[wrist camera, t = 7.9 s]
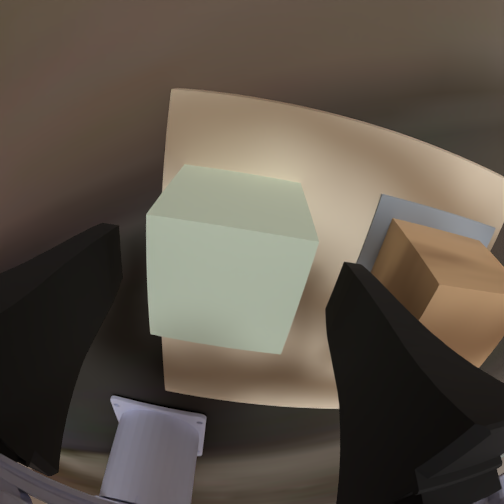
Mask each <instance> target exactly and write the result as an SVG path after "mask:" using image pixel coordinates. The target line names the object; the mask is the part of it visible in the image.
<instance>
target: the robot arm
mask: <svg viewBox="0 0 504 504" xmlns="http://www.w3.org/2000/svg"><path fill="white" fill-rule="evenodd" d="M122 278H123V276H122V264H121V251H120V235H119V226H118V225H112V224H106V223H101V224H99V225H96V226H94V227H92V228H90V229H88V230H86V231H84V232H82V233H80V234H78V235H76V236H74V237H72V238H71V239H69V240H67V241H65V242H63V243H61V244H59V245H58V246H56V247H54V248H52V249H50V250H48V251H46V252H44V253H42V254H40V255H38V256H37V257H35V258H33V259H31V260H29V261H27V262H25V263H23V264H21V265H19V266H16V267H14V268H12V269H10V270H7V271H5V272H3V273H0V504H32V501H31V498H30V497H29V495H31V496H33V497H35V498H37V499H39V500H41V501H43V502H45V503H47V504H191V498H192V490H193V482H194V475H195V467H196V460H197V456H201V455H202V451H203V443H204V435H205V427H206V419H207V417H206V416H205V415H203V414H199V413H193V412H187V411H182V410H176V409H171V408H166V407H161V406H157V405H152V404H148V403H143V402H139V401H135V400H131V399H127V398H123V397H119V396H115V395H114V396H111V399H110V401H111V403H112V406H113V409H114V411H115V414H116V417H117V419H118V422H119V424H118V428H117V431H116V435H115V438H114V442H113V445H112V449H111V452H110V456H109V459H108V463H107V467H106V471H105V474H104V478H103V482H102V486H101V490H100V494H99V496H97V495H96V496H92V495H89V494H87V493H84V492H81V491H79V490H76V489H73V488H71V487H68V486H66V485H63V484H61V483H59V482H56V481H54V480H52V479H49V478H47V477H45V476H43V475H41V474H38V473H36V472H34V471H32V470H30V469H28V468H26V467H24V466H22V465H20V464H18V463H17V462H19V463H21V464H23V465H25V466H27V467H30V468H32V469H34V470H37V471H39V472H41V473H43V474H45V475H47V476H52V475H54V474H56V473H58V471H59V460H60V452H61V445H62V438H63V432H64V427H65V422H66V418H67V413H68V409H69V405H70V401H71V398H72V394H73V390H74V387H75V384H76V381H77V378H78V375H79V372H80V369H81V366H82V363H83V361H84V359H85V356H86V354H87V352H88V350H89V348H90V346H91V344H92V342H93V340H94V338H95V336H96V334H97V332H98V330H99V328H100V326H101V324H102V323H103V321H104V319H105V317H106V315H107V313H108V311H109V309H110V307H111V305H112V303H113V301H114V299H115V296H116V294H117V291H118V288H119V286H120V283H121V280H122ZM325 316H326V332H327V340H328V345H329V350H330V355H331V360H332V366H333V371H334V376H335V381H336V387H337V392H338V400H339V412H340V470H339V484H338V494H337V502H336V504H504V473H503V474H501V475H499V476H498V473H497V468H499V467H500V466H502V460H501V457H500V455H501V454H503V453H504V383H502V382H501V381H499V380H497V379H495V378H494V377H492V376H490V375H489V374H487V373H485V372H484V371H482V370H481V369H479V368H478V367H476V366H474V365H473V364H472V363H470V362H469V361H467V360H466V359H465V358H463V357H462V356H460V355H459V354H457V353H456V352H455V351H454V350H452V349H451V348H450V347H448V346H447V345H446V344H445V343H444V342H442V341H441V340H440V339H439V338H438V337H436V336H435V335H434V334H433V333H432V332H430V331H429V330H428V329H427V328H426V327H425V326H424V325H423V324H422V323H421V322H420V321H419V320H418V319H416V318H415V317H414V316H413V315H412V314H411V313H410V312H409V311H408V310H407V309H406V308H405V307H404V306H403V305H402V304H401V303H400V302H399V301H398V300H397V299H396V298H395V297H394V296H393V295H392V294H391V293H390V292H389V290H388V289H387V288H386V287H385V286H384V285H383V284H382V283H381V282H380V281H379V280H378V279H377V278H376V277H375V276H374V275H373V274H372V273H371V272H370V271H369V270H367V269H366V268H365V267H364V266H363V265H361V264H356V263H350V262H344V263H343V266H342V268H341V271H340V273H339V276H338V279H337V281H336V284H335V286H334V289H333V291H332V294H331V296H330V299H329V301H328V303H327V306H326V308H325ZM28 494H29V495H28Z"/></svg>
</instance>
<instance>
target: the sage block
mask: <svg viewBox="0 0 504 504" xmlns="http://www.w3.org/2000/svg"><path fill="white" fill-rule="evenodd" d="M318 244H319V240H318V236H317V233H316V230H315V226H314V223H313V220H312V217H311V213H310V210H309V207H308V204H307V201H306V198H305V195H304V192H303V188H302V185H301V183H298V182H293V181H287V180H282V179H276V178H271V177H265V176H259V175H254V174H248V173H241V172H235V171H229V170H222V169H215V168H208V167H201V166H194V165H186V164H184V166H183V167H182V168H181V169H180V171H179V172H178V173H177V174H176V176H175V177H174V178H173V179H172V181H171V182H170V183H169V185H168V186H167V187H166V189H165V190H164V191H163V192H162V194H161V195H160V196H159V198H158V199H157V200H156V202H155V203H154V205H153V206H152V207H151V209H150V210H149V211H148V213H147V214H146V258H147V288H148V308H149V323H150V334H152V335H157V336H162V337H167V338H172V339H178V340H183V341H189V342H195V343H201V344H207V345H213V346H220V347H226V348H233V349H240V350H248V351H256V352H264V353H272V354H281V353H282V350H283V347H284V344H285V342H286V339H287V336H288V333H289V331H290V328H291V325H292V322H293V319H294V316H295V314H296V311H297V308H298V305H299V302H300V299H301V296H302V293H303V290H304V287H305V284H306V281H307V278H308V275H309V272H310V269H311V266H312V263H313V260H314V257H315V254H316V251H317V247H318Z"/></svg>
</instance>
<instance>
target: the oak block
mask: <svg viewBox="0 0 504 504" xmlns="http://www.w3.org/2000/svg"><path fill="white" fill-rule="evenodd" d="M371 273H372V274H373V275H374V276H375V277H376V278H377V279H378V280H379V281H380V282H381V283H382V284H383V285H384V286H385V287H386V288H387V289H388V290H389V292H390V293H391V294H392V295H393V296H394V297H395V298H396V299H397V300H398V301H399V302H400V303H401V304H402V305H403V306H404V307H405V308H406V309H407V310H408V311H409V312H410V313H411V314H412V315H413V316H414V317H415V318H416V319H418V320H419V321H420V322H421V323H422V324H423V325H424V326H425V327H426V328H427V329H428V330H429V331H430V332H432V333H433V334H434V335H435V336H436V337H438V338H439V339H440V340H441V341H442V342H444V343H445V344H446V345H447V346H448V347H450V348H451V349H452V350H454V351H455V352H456V353H457V354H459V355H460V356H462V357H463V358H465V359H466V360H467V361H469V362H470V363H472V364H473V365H474V366H476V367H478V368H479V367H480V366H481V364H482V363H483V362H484V361H485V360H486V358H487V357H488V356H489V355H490V353H491V352H492V351H493V350H494V348H495V347H496V346H497V344H498V343H499V342H500V340H501V339H502V338H503V336H504V267H503V266H502V265H501V263H500V262H499V261H498V260H497V259H496V258H495V257H494V256H493V255H492V253H491V252H490V251H489V250H488V249H487V248H486V247H485V246H484V245H483V244H482V243H481V242H480V241H479V240H475V239H472V238H468V237H465V236H461V235H458V234H454V233H450V232H446V231H443V230H439V229H435V228H431V227H427V226H423V225H419V224H415V223H411V222H407V221H403V220H399V219H395V218H392V221H391V224H390V226H389V229H388V231H387V234H386V236H385V239H384V241H383V244H382V246H381V249H380V251H379V254H378V256H377V259H376V261H375V263H374V266H373V268H372V270H371Z"/></svg>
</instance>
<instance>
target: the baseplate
mask: <svg viewBox="0 0 504 504" xmlns="http://www.w3.org/2000/svg"><path fill="white" fill-rule="evenodd" d="M184 164H186V165H194V166H201V167H208V168H215V169H222V170H229V171H235V172H241V173H248V174H254V175H259V176H265V177H271V178H276V179H282V180H287V181H293V182H298V183H301V185H302V188H303V192H304V195H305V198H306V201H307V204H308V207H309V210H310V213H311V217H312V220H313V223H314V226H315V230H316V233H317V236H318V240H319V244H318V247H317V251H316V254H315V257H314V260H313V263H312V266H311V269H310V272H309V275H308V278H307V281H306V284H305V287H304V290H303V293H302V296H301V299H300V302H299V305H298V308H297V311H296V314H295V316H294V319H293V322H292V325H291V328H290V331H289V333H288V336H287V339H286V342H285V344H284V347H283V350H282V353H281V354H272V353H264V352H256V351H248V350H240V349H233V348H226V347H220V346H213V345H207V344H201V343H195V342H189V341H183V340H178V339H172V338H167V337H162V351H163V367H164V381H165V390H166V391H171V392H176V393H181V394H187V395H193V396H199V397H205V398H211V399H218V400H226V401H233V402H241V403H250V404H260V405H271V406H284V407H300V408H327V409H339V400H338V392H337V387H336V381H335V376H334V371H333V366H332V360H331V355H330V350H329V345H328V340H327V332H326V316H325V308H326V306H327V303H328V301H329V299H330V296H331V294H332V291H333V289H334V286H335V284H336V281H337V279H338V276H339V273H340V271H341V268H342V266H343V263H344V262H350V263H356V264H361V265H363V266H364V267H365V268H366V269H367V270H369V271H370V272H371V270H372V268H373V266H374V263H375V261H376V259H377V256H378V254H379V251H380V249H381V246H382V244H383V241H384V239H385V236H386V234H387V231H388V229H389V226H390V224H391V221H392V218H395V219H399V220H403V221H407V222H411V223H415V224H419V225H423V226H427V227H431V228H435V229H439V230H443V231H446V232H450V233H454V234H458V235H461V236H465V237H468V238H472V239H475V240H479V241H480V242H481V243H482V244H483V245H484V246H485V247H486V248H487V249H488V250H489V251H490V250H491V248H492V246H493V244H494V242H495V240H496V238H497V236H498V234H499V232H500V229H501V227H502V225H503V223H504V176H502V175H500V174H498V173H496V172H494V171H492V170H489V169H487V168H485V167H483V166H481V165H479V164H477V163H474V162H472V161H470V160H468V159H465V158H463V157H461V156H459V155H456V154H454V153H451V152H449V151H447V150H444V149H442V148H439V147H437V146H434V145H431V144H429V143H426V142H423V141H421V140H418V139H415V138H412V137H410V136H407V135H404V134H401V133H398V132H395V131H392V130H389V129H386V128H383V127H379V126H376V125H373V124H370V123H366V122H363V121H359V120H356V119H352V118H349V117H345V116H341V115H337V114H333V113H330V112H325V111H321V110H317V109H313V108H308V107H304V106H299V105H295V104H290V103H285V102H280V101H274V100H269V99H263V98H257V97H251V96H245V95H238V94H231V93H223V92H215V91H206V90H196V89H185V88H175V89H171V96H170V105H169V114H168V124H167V134H166V145H165V158H164V172H163V188H162V192H163V191H164V190H165V189H166V187H167V186H168V185H169V183H170V182H171V181H172V179H173V178H174V177H175V176H176V174H177V173H178V172H179V171H180V169H181V168H182V167H183V166H184Z"/></svg>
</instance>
